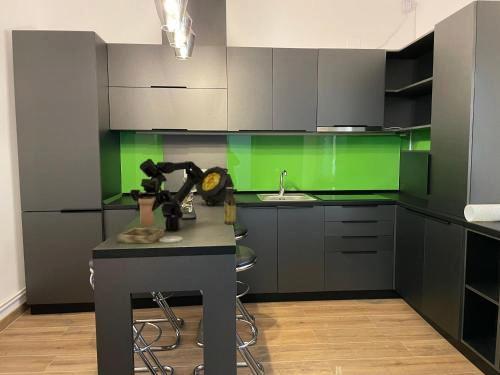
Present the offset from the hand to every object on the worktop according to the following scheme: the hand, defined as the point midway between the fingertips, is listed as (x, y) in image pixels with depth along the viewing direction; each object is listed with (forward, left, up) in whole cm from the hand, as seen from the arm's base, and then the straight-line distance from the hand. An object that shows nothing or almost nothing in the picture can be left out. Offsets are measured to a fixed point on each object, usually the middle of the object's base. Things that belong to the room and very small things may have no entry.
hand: (145, 210), depth 158 cm
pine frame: (+3, -1, -13) cm, 14 cm away
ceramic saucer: (-11, 0, -13) cm, 17 cm away
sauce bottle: (-29, -42, -13) cm, 53 cm away
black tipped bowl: (-4, -114, -13) cm, 115 cm away
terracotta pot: (0, -1, -7) cm, 7 cm away
